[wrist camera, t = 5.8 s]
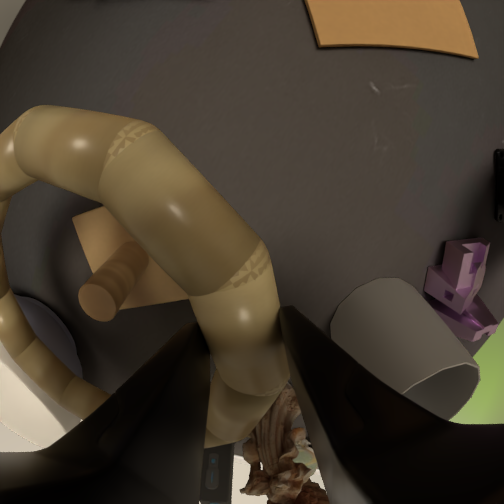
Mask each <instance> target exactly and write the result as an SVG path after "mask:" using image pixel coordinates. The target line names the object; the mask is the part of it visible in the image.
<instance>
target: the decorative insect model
mask: <svg viewBox="0 0 504 504" xmlns="http://www.w3.org/2000/svg"><path fill="white" fill-rule="evenodd" d="M309 444H311V443H310V442H308V441H307V440H305V439H304V440H299V441H296V442H295V445H296V447H297V449H298V451H299V455H298V456H297V458H295V459H293V461H294V462H296V463H303V464H305V465H306V466H307V467H308V468H310V469H312V470H313V472H312V474H311V476H312V475H313V474H314V472H315V471H316V469H317V468H318V464H317V461H316V458H315V454H314V451H313V449H312V448H310V447H308V445H309Z"/></svg>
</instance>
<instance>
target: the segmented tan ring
mask: <svg viewBox="0 0 504 504" xmlns="http://www.w3.org/2000/svg"><path fill="white" fill-rule="evenodd" d="M38 180H40V181H43V182H45V183H48V184H51V185H53V186H56V187H59V188H62V189H64V190H67V191H70V192H72V193H75V194H78V195H81V196H83V197H86V198H89V199H91V200H94V201H97V202H100V203H102V204H103V205H104V206H105V208H106V209H107V210H108V211H109V212H110V213H111V214H112V216H113V217H114V218H115V219H116V220H117V221H118V222H119V223H120V224H121V226H122V227H123V228H124V229H125V230H126V231H127V232H128V233H129V234H130V235H131V237H132V238H133V239H134V240H135V241H136V242H137V243H138V244H139V245H140V246H141V247H142V248H143V249H144V250H145V251H146V253H147V254H148V255H149V256H150V257H151V258H152V259H153V260H154V261H155V262H156V263H157V264H158V265H159V266H160V267H161V268H162V269H163V270H164V271H165V272H166V273H167V274H168V275H169V276H170V277H171V278H172V279H173V280H174V281H175V282H176V283H177V284H178V285H179V286H180V287H181V288H182V289H183V290H184V291H185V292H186V293H187V295H188V298H189V301H190V303H191V306H192V309H193V311H194V314H195V316H196V319H197V321H198V324H199V327H200V329H201V332H202V334H203V337H204V339H205V342H206V344H207V346H208V349H209V351H210V354H211V356H212V358H213V361H214V363H215V365H216V371H215V373H214V376H213V378H212V381H211V384H210V398H209V407H208V416H207V425H206V434H205V444H204V448H210V447H215V446H220V445H225V444H229V443H234V442H237V441H240V440H242V439H244V438H245V437H247V436H248V435H249V434H250V433H251V431H252V430H253V429H254V428H255V426H256V425H257V424H258V422H259V421H260V420H261V419H262V417H263V416H264V415H265V413H266V412H267V411H268V409H269V408H270V407H271V405H272V404H273V403H274V401H275V400H276V398H277V397H278V396H279V394H280V393H281V391H282V390H283V389H284V387H285V386H286V384H287V382H288V380H289V378H290V371H289V366H288V361H287V356H286V351H285V346H284V341H283V336H282V332H281V325H280V318H279V308H280V303H279V298H278V293H277V288H276V283H275V278H274V273H273V268H272V263H271V258H270V255H269V252H268V250H267V248H266V246H265V244H264V243H263V241H262V240H261V239H260V237H259V236H258V235H257V234H256V233H255V232H254V231H253V229H252V228H251V227H250V226H249V225H248V224H247V223H246V222H245V221H244V220H243V219H242V217H241V216H240V215H239V214H238V213H237V212H236V211H235V210H234V209H233V208H232V207H231V205H230V204H229V203H228V202H227V201H226V200H225V199H224V198H223V197H222V196H221V195H220V194H219V193H218V191H217V190H216V189H215V188H214V187H213V186H212V185H211V184H210V183H209V182H208V181H207V180H206V179H205V177H204V176H203V175H202V174H201V173H200V172H199V171H198V170H197V169H196V168H195V167H194V166H193V165H192V164H191V162H190V161H189V160H188V159H187V158H186V157H185V156H184V155H183V154H182V153H181V152H180V151H179V150H178V149H177V148H176V147H175V145H174V144H173V143H172V142H171V141H170V140H169V139H168V138H167V137H166V136H165V135H164V134H163V133H162V132H161V131H160V130H159V129H158V128H156V127H155V126H154V125H152V124H150V123H148V122H145V121H142V120H138V119H133V118H128V117H123V116H118V115H113V114H107V113H102V112H96V111H90V110H83V109H77V108H70V107H62V106H54V105H40V106H36V107H33V108H31V109H29V110H27V111H26V112H25V113H23V114H22V115H21V116H20V117H19V118H18V119H16V120H15V121H14V122H13V123H12V124H11V125H10V126H9V127H8V128H7V129H5V130H4V131H3V132H2V133H1V134H0V341H1V343H2V344H3V346H4V347H5V349H6V350H7V352H8V353H9V355H10V356H11V358H12V359H13V360H14V362H15V363H16V364H17V365H18V366H19V367H20V368H21V369H22V370H23V371H24V372H25V373H26V374H27V375H28V376H29V377H30V378H31V379H32V380H33V381H34V382H35V383H36V384H37V385H38V386H39V387H40V388H41V389H42V390H43V391H44V392H45V393H46V394H47V395H48V396H49V397H50V398H52V399H53V400H54V401H55V402H56V403H57V404H58V405H60V406H61V407H63V408H64V409H66V410H67V411H69V412H70V413H72V414H74V415H75V416H77V417H79V418H80V419H82V420H84V419H85V418H86V417H88V416H89V415H90V414H91V413H93V412H94V411H95V410H96V409H97V408H98V407H99V406H100V405H101V404H103V403H104V402H105V401H106V400H107V399H108V398H109V397H110V396H111V395H110V394H108V393H107V392H105V391H103V390H101V389H99V388H97V387H95V386H94V385H92V384H90V383H88V382H87V381H85V380H83V379H81V378H80V377H78V376H77V375H76V374H74V373H73V372H72V371H71V370H70V369H69V368H68V367H67V366H66V365H65V364H64V363H63V362H62V361H61V360H60V359H59V358H58V357H57V356H56V355H55V354H54V353H53V352H52V351H51V350H50V349H49V348H48V347H47V346H46V345H45V344H44V343H43V342H42V341H41V340H40V339H39V338H38V336H37V335H36V334H35V332H34V330H33V329H32V327H31V325H30V324H29V322H28V320H27V318H26V316H25V315H24V313H23V311H22V309H21V307H20V305H19V303H18V302H17V300H16V298H15V296H14V294H13V292H12V289H11V287H10V285H9V281H8V276H7V270H6V265H5V259H4V253H3V246H2V238H1V232H2V228H3V224H4V221H5V217H6V214H7V210H8V207H9V204H10V201H11V197H12V196H13V195H14V194H16V193H17V192H19V191H21V190H22V189H24V188H26V187H27V186H29V185H31V184H32V183H34V182H36V181H38Z"/></svg>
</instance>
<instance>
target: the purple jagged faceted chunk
mask: <svg viewBox="0 0 504 504" xmlns="http://www.w3.org/2000/svg"><path fill="white" fill-rule="evenodd" d="M489 246H490V242H489V241H487V240H486V239H484V238H482V237H481V238H472V239H462V240H453V241H446V246H445V252H444V258H443V263H442V265H436V266H429V267H428V271H427V277H426V282H425V287H424V291H425V292H427V293H428V294H430V295H431V296H433V297H434V298H436V299H434V300H429V301H427V303H428V304H429V305H430V306H431V307H432V308H433V309H434V311H435V312H436V313H437V314H438V315H439V316H440V318H441V319H442V320H443V321H444V322H445V324H446V325H447V326H448V327H449V328H450V330H451V331H452V332H453V333H454V335H455V336H457V337H460V338H463V339H466V340H469V341H472V342H473V341H476V340H478V339H480V338H481V336H482V334H483V333H484V334H486V335H487V336H489V335H491V334H493V333H495V332H496V329H497V327H498V324H499V323H498V322H497V321H496V319H495V318H494V316H493V315H492V314H491V312H490V311H489V309H488V308H487V307H486V305H485V304H484V303H483V301H482V300H481V299H480V297H479V296H478V295H477V294H476V293H477V292H478V291H479V289H480V288H481V286H482V282H483V278H484V274H485V270H486V265H485V264H486V260H487V255H488V251H489Z"/></svg>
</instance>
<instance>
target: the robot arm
mask: <svg viewBox="0 0 504 504" xmlns="http://www.w3.org/2000/svg"><path fill="white" fill-rule="evenodd" d="M495 220H496V221H498V222H503V221H504V149H497V150H496V204H495ZM279 318H280V325H281V332H282V336H283V341H284V346H285V351H286V356H287V361H288V366H289V371H290V376H291V381H292V384H293V388H294V391H295V394H296V397H297V400H298V404H299V407H300V410H301V413H302V416H303V419H304V423H305V426H306V429H307V432H308V435H309V439H310V442H311V445H312V448H313V451H314V454H315V458H316V461H317V464H318V467H319V470H320V473H321V477H322V480H323V483H324V486H325V489H326V492H327V496H328V499H329V502H330V504H504V424H459V423H454V422H451V421H448V420H445V419H443V418H441V417H439V416H437V415H435V414H434V413H432V412H430V411H429V410H427V409H425V408H424V407H422V406H420V405H419V404H417V403H415V402H414V401H412V400H410V399H409V398H407V397H405V396H404V395H402V394H401V393H399V392H397V391H396V390H394V389H393V388H391V387H390V386H388V385H387V384H385V383H384V382H382V381H381V380H380V379H379V378H377V377H376V376H375V375H373V374H372V373H371V372H370V371H368V370H367V369H366V368H365V367H364V366H363V365H361V364H360V363H359V364H358V361H356V360H355V359H354V358H353V357H352V356H351V355H349V354H348V353H347V352H346V351H345V350H344V349H342V348H341V347H340V346H339V345H338V344H337V343H335V342H334V341H333V340H332V339H331V338H330V337H328V336H327V335H326V334H325V333H324V332H323V331H321V330H320V329H319V328H318V327H317V326H316V325H315V324H313V323H312V322H311V321H310V320H309V319H308V318H306V317H305V316H304V315H303V314H302V313H301V312H300V311H298V310H297V309H296V308H295V307H294V306H292V305H291V306H286V307H281V308H279ZM209 398H210V351H209V349H208V346H207V344H206V342H205V339H204V337H203V334H202V332H201V329H200V327H199V324H198V322H193V323H187V324H186V325H184V326H183V327H182V328H181V329H180V330H179V331H178V332H177V333H176V334H175V335H174V336H173V337H172V338H171V339H170V340H169V341H168V342H167V343H166V344H165V345H164V346H163V347H162V348H160V349H159V350H158V351H157V352H156V353H155V354H154V355H153V356H152V357H151V358H150V359H149V360H148V361H147V362H146V363H145V364H144V365H143V366H142V367H141V368H140V369H139V370H137V371H136V372H135V373H134V374H133V375H132V376H131V377H130V378H129V379H128V380H127V381H126V382H125V383H124V384H123V385H122V386H121V387H120V388H119V389H118V390H116V393H113V394H112V395H111V396H110V397H109V398H108V399H107V400H106V401H105V402H104V403H103V404H101V405H100V406H99V407H98V408H97V409H96V410H95V411H94V412H93V413H91V414H90V415H89V416H88V417H86V418H85V419H84V420H83V421H82V422H80V423H79V424H78V425H76V426H75V427H74V428H73V429H71V430H70V431H69V432H67V433H66V434H65V435H64V436H62V437H61V438H60V439H58V440H57V441H56V442H54V443H53V444H52V445H50V446H49V447H47V448H45V449H42V450H39V451H34V452H0V504H199V496H200V485H201V474H202V464H203V454H204V444H205V434H206V425H207V416H208V407H209Z"/></svg>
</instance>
